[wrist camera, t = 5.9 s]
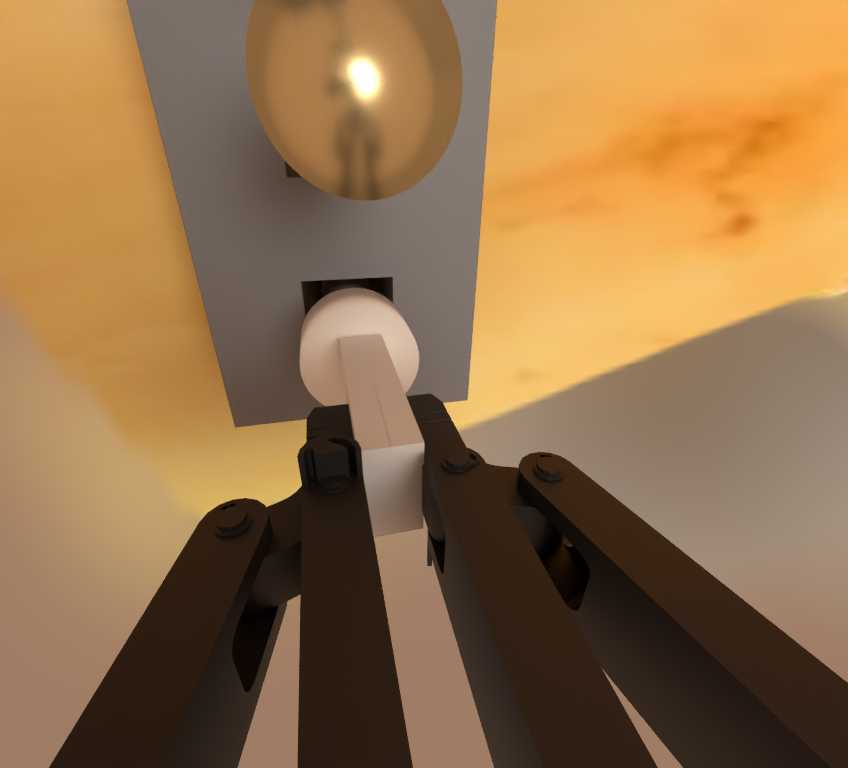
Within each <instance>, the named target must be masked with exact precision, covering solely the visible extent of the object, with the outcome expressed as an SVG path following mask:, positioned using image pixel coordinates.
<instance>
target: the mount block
mask: <svg viewBox="0 0 848 768" xmlns="http://www.w3.org/2000/svg"><path fill="white" fill-rule="evenodd" d="M441 1H442V3H443V4H444V6H445V8H446V10H447V13H448V15H449V17H450V20H451V22H452V25H453V28H454V31H455V34H456V37H457V41H458V46H459V50H460V55H461V64H462V79H463V90H462V100H461V108H460V112H459V117H458V121H457V125H456V128H455V131H454V134H453V136H452V138H451V141H450V143H449V145H448V147H447V149H446V151H445V152H444V154H443V156H442V157H441V159H440V160H439V162H438V163H437V164H436V166H435V167H434V168H433V169H432V171H431V172H430V173H428V174H427V175H426V176H425V177H424V178H423V179H422V180H421V181H420V182H418V183H417V184H416V185H414V186H413V187H411V188H409V189H408V190H406V191H404V192H402V193H400V194H397V195H395V196H392V197H389V198H384V199H380V200H369V201H363V200H352V199H347V198H342V197H339V196H336V195H333V194H330V193H328V192H326V191H324V190H322V189H320V188H318V187H316V186H314V185H313V184H311V183H310V182H308V181H307V180H305V179H304V178H303V177H302V176H300V175H299V174H298V173H297V172H296V171H295V170H293V169H292V167H291V166H290V165H289V164H288V163H287V162H286V161H285V160H284V159H283V158H282V157H281V155H280V154H279V152H278V151H277V150H276V148H275V147H274V146H273V144H272V143H271V141H270V139H269V138H268V136H267V134H266V132H265V131H264V129H263V127H262V124H261V122H260V120H259V118H258V116H257V113H256V110H255V107H254V104H253V101H252V98H251V94H250V89H249V84H248V80H247V71H246V61H245V57H246V36H247V28H248V22H249V18H250V14H251V11H252V7H253V4H254V2H255V0H127V4H128V7H129V11H130V15H131V19H132V23H133V27H134V31H135V35H136V39H137V43H138V47H139V51H140V55H141V59H142V63H143V67H144V70H145V74H146V78H147V82H148V86H149V90H150V94H151V98H152V102H153V106H154V110H155V114H156V118H157V122H158V126H159V129H160V133H161V137H162V141H163V145H164V149H165V153H166V157H167V161H168V165H169V169H170V173H171V177H172V181H173V185H174V189H175V192H176V196H177V200H178V204H179V208H180V212H181V216H182V220H183V224H184V228H185V232H186V236H187V240H188V244H189V248H190V252H191V255H192V259H193V263H194V267H195V271H196V275H197V279H198V283H199V287H200V291H201V295H202V299H203V303H204V307H205V311H206V315H207V318H208V322H209V326H210V330H211V334H212V338H213V342H214V346H215V350H216V354H217V358H218V362H219V366H220V370H221V374H222V377H223V381H224V385H225V389H226V393H227V397H228V401H229V405H230V409H231V413H232V417H233V421H234V425H235V427H242V426H251V425H259V424H268V423H276V422H285V421H293V420H302V419H307V417H308V416H309V414H310V413H311V411H312V410H313V409H314V408H315V407H324V405H323V404H321V403H320V402H319V401H317V400H316V399H315V398H314V397H313V396H312V395H311V393H310V392H309V391H308V389H307V388H306V386H305V384H304V382H303V379H302V376H301V372H300V342H301V330H302V325H303V322H304V320H305V317H306V315H307V314H308V312H309V311H310V303H309V295H308V287H307V281H319V280H339V279H359V278H374V289H375V292H377V293H379V294H381V295H383V296H385V297H386V298H387V299H389V300H390V301H391V302H392V303H393V304H394V305H395V306H396V307H397V309H398V310H399V311H400V313H401V315H402V317H403V318H404V320H405V322H406V324H407V325H408V327H409V329H410V331H411V333H412V334H413V336H414V338H415V340H416V343H417V346H418V351H419V366H418V371H417V374H416V377H415V380H414V381H413V383H412V385H411V387H410V388H409V390H408V391H407V392H406V393H405V395H406V396H412V395H421V394H430V393H431V394H432V395H434V396H435V397H437V398H438V399H439V400H441V401H442V403H446V402H455V401H463V400H467V399H468V385H469V372H470V359H471V345H472V332H473V318H474V305H475V291H476V278H477V265H478V251H479V238H480V224H481V211H482V197H483V184H484V171H485V157H486V144H487V130H488V117H489V103H490V90H491V77H492V63H493V50H494V36H495V23H496V9H497V0H441Z"/></svg>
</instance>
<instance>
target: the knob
mask: <svg viewBox="0 0 848 768" xmlns="http://www.w3.org/2000/svg"><path fill="white" fill-rule="evenodd" d="M381 334H382V337H383V339H384V342H385V344H386V347H387V349H388V352H389V354H390V357H391V359H392V362H393V365H394V367H395V370H396V372H397V375H398V377H399V380H400V382H401V385H402V387H403V390H404V392H405V393H406V392H407V391H408V390H409V388H410V387H411V385H412V383H413V381H414V380H415V377H416V374H417V371H418V366H419V351H418V346H417V343H416V340H415V338H414V336H413V334H412V333H411V331H410V329H409V327H408V325H407V324H406V322H405V320H404V318H403V317H402V315H401V313H400V311H399V310H398V309H397V307H396V306H395V305H394V304H393V303H392V302H391V301H390V300H389V299H387V298H386V297H385V296H383V295H381V294H379V293H377V292H375V291H372V290H368V289H365V286H364V284H363V282H362V280H361V278H359V279H339V280H323V283H322V299H320V300H319V301H318V302H317V303H316V304H315V305H314V306H313V307H312V308H311V309H310V311H309V312H308V314H307V315H306V317H305V320H304V322H303V325H302V330H301V342H300V372H301V376H302V379H303V382H304V384H305V386H306V388H307V389H308V391H309V392H310V393H311V395H312V396H313V397H314V398H315V399H316V400H317V401H319V402H320V403H321V404H323V405H324V406H333V405H342V404H345V393H344V382H343V372H342V361H341V350H340V340H339V338H343V337H356V336H369V335H381Z"/></svg>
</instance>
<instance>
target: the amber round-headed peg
mask: <svg viewBox="0 0 848 768" xmlns="http://www.w3.org/2000/svg"><path fill="white" fill-rule="evenodd" d="M245 61H246V71H247V80H248V84H249V89H250V94H251V98H252V101H253V104H254V107H255V110H256V113H257V116H258V118H259V120H260V122H261V124H262V127H263V129H264V131H265V132H266V134H267V136H268V138H269V139H270V141H271V143H272V144H273V146H274V147H275V148H276V150H277V151H278V152H279V154H280V155H281V157H282V158H283V159H284V160H285V161H286V162H287V163H288V164H289V165H290V166H291V167H292V169H293V170H295V171H296V172H297V173H298V174H299V175H300V176H302V177H303V178H304V179H305V180H307V181H308V182H310V183H311V184H313V185H314V186H316V187H318V188H320V189H322V190H324V191H326V192H328V193H330V194H333V195H336V196H339V197H342V198H347V199H352V200H363V201H369V200H380V199H384V198H389V197H392V196H395V195H397V194H400V193H402V192H404V191H406V190H408V189H409V188H411V187H413V186H414V185H416V184H417V183H418V182H420V181H421V180H422V179H423V178H424V177H425V176H426V175H427V174H428V173H430V172H431V171H432V169H433V168H434V167H435V166H436V164H437V163H438V162H439V160H440V159H441V157H442V156H443V154H444V152H445V151H446V149H447V147H448V145H449V143H450V141H451V138H452V136H453V134H454V131H455V128H456V125H457V121H458V117H459V112H460V108H461V100H462V90H463V79H462V64H461V55H460V50H459V46H458V41H457V37H456V34H455V31H454V28H453V25H452V22H451V20H450V17H449V15H448V13H447V10H446V8H445V6H444V4H443V3H442V1H441V0H255V2H254V4H253V7H252V11H251V14H250V18H249V22H248V28H247V36H246V57H245Z"/></svg>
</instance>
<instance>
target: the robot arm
mask: <svg viewBox="0 0 848 768" xmlns="http://www.w3.org/2000/svg"><path fill="white" fill-rule="evenodd" d="M339 340H340V350H341V361H342V372H343V382H344V393H345V404H342V405H333V406H324V407H315V408H314V409H313V410H312V411H311V413H310V414H309V416H308V417H307V443H306V444H305V445H304V446H303V447H302V448H301V449H300V451H299V454H298V456H297V457H298V463H299V469H300V475H301V481H302V486H301V487H300V488H299V490H298V491H297V492H296V493H294V494H293V495H291V496H290V497H289V498H287V499H285V500H283V501H281V502H278V503H276V504H273V505H271V506H268V507H266V506H265V505H264V504H262V503H261V502H259V501H258V500H253V499H247V498H244V499H236V500H231V501H228V502H226V503H223V504H220V505H219V506H217V507H216V508H214V509H213V510H211V511H210V512H208V513H207V514H206V515H205V516H204V518H203V519H202V520H201V521H200V522H199V524H198V525H197V527H196V529H195V530H194V532H193V534H192V535H191V537H190V539H189V540H188V542H187V543H186V545H185V547H184V548H183V550H182V552H181V553H180V555H179V556H178V558H177V560H176V561H175V563H174V565H173V566H172V568H171V570H170V571H169V573H168V574H167V576H166V578H165V579H164V581H163V583H162V584H161V586H160V588H159V589H158V591H157V592H156V594H155V596H154V597H153V599H152V600H151V602H150V604H149V605H148V607H147V609H146V610H145V612H144V614H143V615H142V617H141V619H140V620H139V622H138V623H137V625H136V627H135V628H134V630H133V631H132V633H131V635H130V636H129V638H128V640H127V641H126V643H125V645H124V646H123V648H122V649H121V651H120V653H119V654H118V656H117V658H116V659H115V661H114V662H113V664H112V666H111V668H110V669H109V671H108V672H107V674H106V676H105V677H104V679H103V681H102V682H101V684H100V685H99V687H98V689H97V690H96V692H95V693H94V695H93V697H92V698H91V700H90V702H89V703H88V705H87V707H86V708H85V710H84V711H83V713H82V715H81V716H80V718H79V720H78V721H77V723H76V725H75V726H74V728H73V730H72V731H71V733H70V734H69V736H68V738H67V739H66V741H65V742H64V744H63V746H62V747H61V749H60V751H59V752H58V754H57V756H56V757H55V759H54V761H53V762H52V764H51V765H50V767H49V768H237V767H238V764H239V760H240V757H241V754H242V751H243V747H244V744H245V741H246V738H247V734H248V731H249V728H250V725H251V721H252V718H253V715H254V712H255V708H256V705H257V702H258V698H259V695H260V692H261V689H262V685H263V682H264V679H265V676H266V672H267V669H268V666H269V662H270V659H271V656H272V652H273V649H274V646H275V643H276V640H277V636H278V633H279V630H280V626H281V623H282V620H283V617H284V613H285V610H286V607H287V601H288V600H290V599H292V598H294V597H296V596H298V595H300V594H301V604H300V605H301V607H300V662H299V664H300V665H299V721H298V768H413V766H412V760H411V754H410V749H409V742H408V737H407V731H406V725H405V720H404V713H403V707H402V701H401V695H400V690H399V684H398V678H397V672H396V666H395V660H394V654H393V648H392V643H391V637H390V631H389V625H388V619H387V613H386V607H385V601H384V595H383V590H382V584H381V578H380V573H379V566H378V561H377V554H376V549H375V543H374V537H377V536H383V535H388V534H394V533H399V532H404V531H411V530H416V529H422V528H423V515H424V518H425V521H426V524H427V527H428V545H427V564H428V566H432V560H433V563H434V567H435V570H436V574H437V577H438V580H439V584H440V587H441V591H442V594H443V597H444V600H445V604H446V607H447V611H448V614H449V617H450V621H451V624H452V627H453V631H454V634H455V637H456V641H457V644H458V647H459V651H460V654H461V658H462V661H463V664H464V668H465V671H466V674H467V678H468V681H469V684H470V688H471V691H472V694H473V698H474V701H475V705H476V708H477V711H478V715H479V718H480V721H481V725H482V728H483V731H484V735H485V738H486V741H487V745H488V748H489V752H490V755H491V758H492V762H493V765H494V768H657V766H656V764H655V762H654V760H653V759H652V757H651V755H650V753H649V751H648V750H647V748H646V746H645V744H644V743H643V741H642V739H641V737H640V735H639V734H638V732H637V730H636V728H635V727H634V725H633V723H632V721H631V719H630V718H629V716H628V714H627V713H626V711H625V709H624V707H623V705H622V704H621V702H620V700H619V698H618V696H617V695H616V693H615V691H614V689H613V688H612V686H611V684H610V682H609V681H608V679H607V677H606V675H605V673H604V672H603V670H604V671H605V672H606V674H607V675H608V676H609V677H610V678H611V680H612V681H613V682H614V683H615V685H616V686H617V687H618V688H619V689H620V691H621V692H622V693H623V694H624V696H625V697H626V698H627V699H628V701H629V702H630V703H631V704H632V705H633V706H634V708H635V709H636V710H637V712H638V713H639V714H640V715H641V717H642V718H643V719H644V720H645V721H646V723H647V724H648V725H649V726H650V727H651V729H652V730H653V731H654V732H655V734H656V735H657V736H658V737H659V738H660V740H661V741H662V742H663V743H664V745H665V746H666V747H667V748H668V749H669V751H670V752H671V753H672V754H673V756H674V757H675V758H676V759H677V761H678V762H679V763H680V764H681V765H682V767H683V768H848V683H847V682H846V681H844V680H843V679H842V678H841V677H840V676H838V675H837V674H836V673H834V672H833V671H832V670H830V669H829V668H828V667H827V666H826V665H824V664H823V663H822V662H821V661H819V660H818V659H817V658H816V657H814V656H813V655H812V654H811V653H809V652H808V651H807V650H806V649H804V648H803V647H802V646H801V645H799V644H798V643H797V642H795V641H794V640H793V639H792V638H790V637H789V636H788V635H787V634H786V633H784V632H783V631H782V630H780V629H779V628H778V627H777V626H775V625H774V624H773V623H772V622H770V621H769V620H768V619H766V618H765V617H764V616H763V615H762V614H760V613H759V612H758V611H757V610H755V609H754V608H753V607H752V606H750V605H749V604H748V603H746V602H745V601H744V600H743V599H741V598H740V597H739V596H738V595H737V594H735V593H734V592H733V591H732V590H730V589H729V588H728V587H726V586H725V585H724V584H723V583H721V582H720V581H719V580H718V579H716V578H715V577H714V576H713V575H711V574H710V573H709V572H708V571H706V570H705V569H704V568H703V567H701V566H700V565H699V564H697V563H696V562H695V561H694V560H693V559H691V558H690V557H689V556H687V555H686V554H685V553H684V552H682V551H681V550H680V549H679V548H677V547H676V546H675V545H674V544H672V543H671V542H670V541H669V540H667V539H666V538H665V537H664V536H662V535H661V534H660V533H659V532H657V531H656V530H655V529H654V528H652V527H651V526H650V525H649V524H647V523H646V522H645V521H644V520H642V519H641V518H640V517H638V516H637V515H636V514H635V513H633V512H632V511H631V510H629V509H628V508H627V507H626V506H625V505H623V504H622V503H621V502H620V501H618V500H617V499H616V498H615V497H613V496H612V495H611V494H610V493H608V492H607V491H606V490H605V489H603V488H602V487H601V486H600V485H598V484H597V483H596V482H594V481H593V480H592V479H591V478H590V477H588V476H587V475H586V474H584V473H583V472H582V471H580V470H579V469H578V468H577V467H575V466H574V465H573V464H572V463H571V462H569V461H567V460H566V459H564V458H563V457H561V456H558V455H555V454H552V453H544V452H537V453H531V454H529V455H527V456H525V457H523V458H522V460H521V462H520V464H519V468H513V467H502V466H495V465H490V464H487V463H485V461H484V459H483V458H482V457H481V456H480V455H479V454H478V453H477V452H475V451H473V450H472V449H470V448H466V446H465V444H464V442H463V440H462V438H461V436H460V434H459V433H458V431H457V429H456V427H455V425H454V423H453V421H451V418H450V416H449V414H448V413H447V410H446V408H445V406H444V404H443V403H442V401H441V400H439V399H438V398H437V397H435V396H434V395H432V394H431V393H430V394H421V395H412V396H406V395H405V392H404V390H403V387H402V385H401V382H400V380H399V377H398V375H397V372H396V370H395V367H394V365H393V362H392V359H391V357H390V354H389V352H388V349H387V347H386V344H385V342H384V339H383V337H382V334H381V335H369V336H356V337H343V338H339ZM602 669H603V670H602Z"/></svg>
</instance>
